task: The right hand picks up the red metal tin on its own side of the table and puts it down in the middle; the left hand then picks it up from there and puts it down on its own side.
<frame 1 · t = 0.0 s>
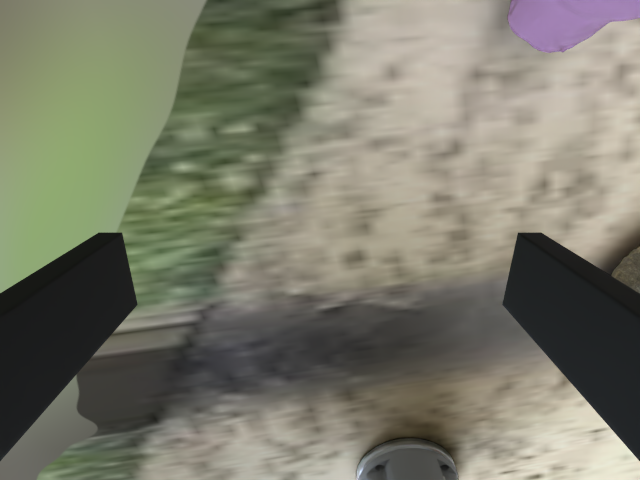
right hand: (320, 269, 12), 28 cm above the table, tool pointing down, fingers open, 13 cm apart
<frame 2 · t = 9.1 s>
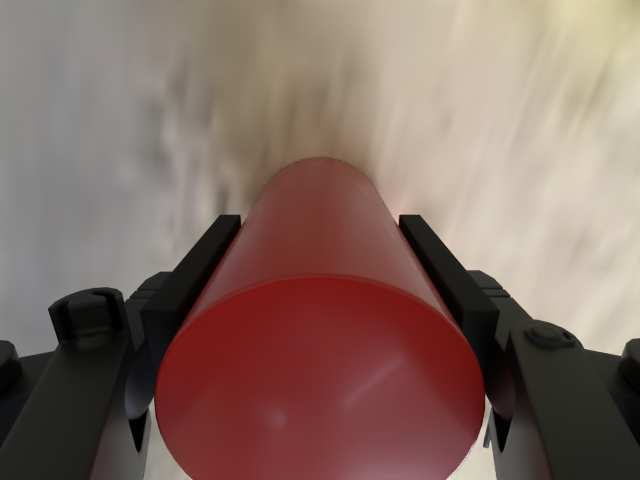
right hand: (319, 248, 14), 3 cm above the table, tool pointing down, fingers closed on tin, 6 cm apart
tin: (319, 221, 17), on the table, touching right hand
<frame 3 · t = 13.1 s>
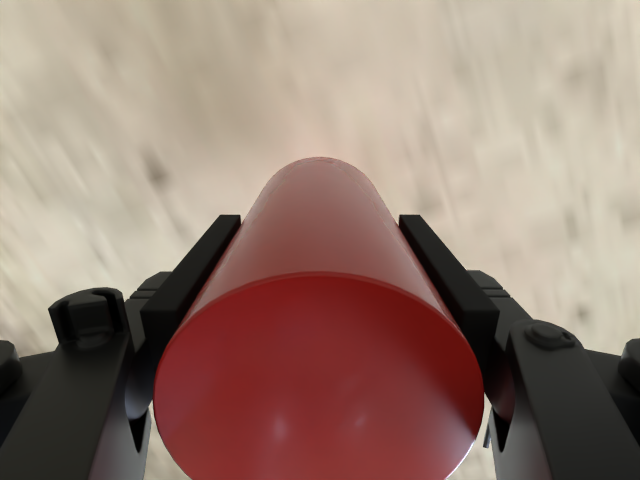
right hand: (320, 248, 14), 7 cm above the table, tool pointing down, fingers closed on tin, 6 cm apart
tin: (319, 221, 17), point 4 cm above the table, touching right hand
when the right hand's fingers open (5 cm above the table, at t = 17.1 s): tin drops 2 cm, on the table.
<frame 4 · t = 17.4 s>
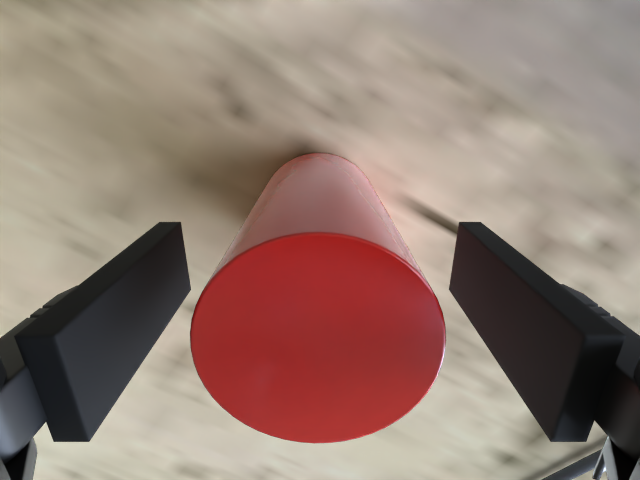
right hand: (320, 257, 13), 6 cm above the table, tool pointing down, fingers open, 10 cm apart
tin: (319, 210, 19), on the table
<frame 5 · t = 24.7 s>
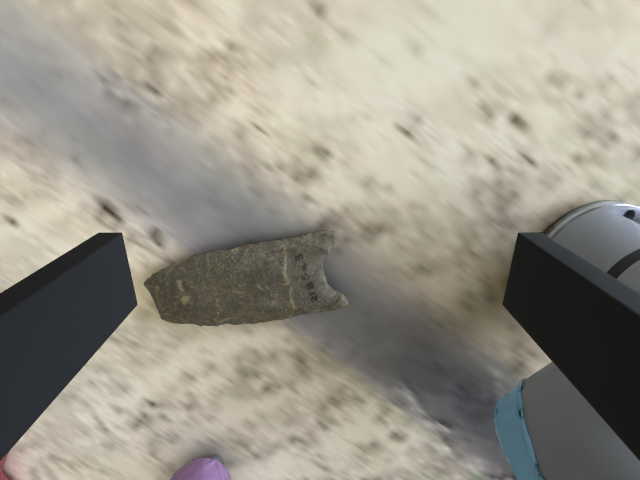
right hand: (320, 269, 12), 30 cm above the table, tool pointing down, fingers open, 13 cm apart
toy character: (207, 464, 59), on the table
stone tool: (247, 280, 47), on the table
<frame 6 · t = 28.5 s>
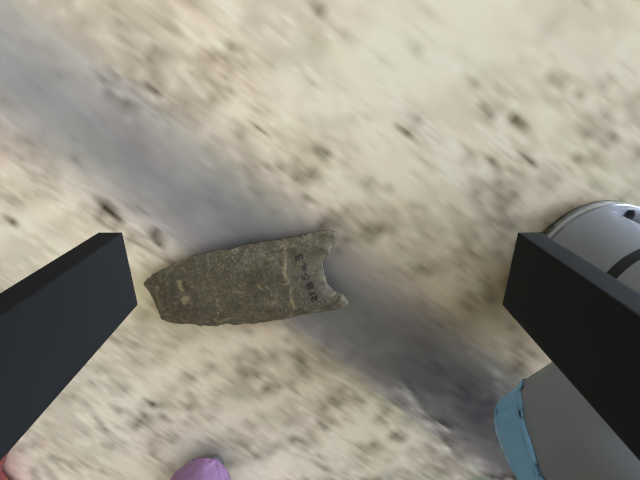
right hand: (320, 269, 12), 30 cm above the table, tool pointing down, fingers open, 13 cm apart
toy character: (207, 464, 59), on the table
stone tool: (247, 280, 47), on the table
when the left hand's fingers open (5 cm above the table, at t = 32.5 s): tin drops 2 cm, on the table.
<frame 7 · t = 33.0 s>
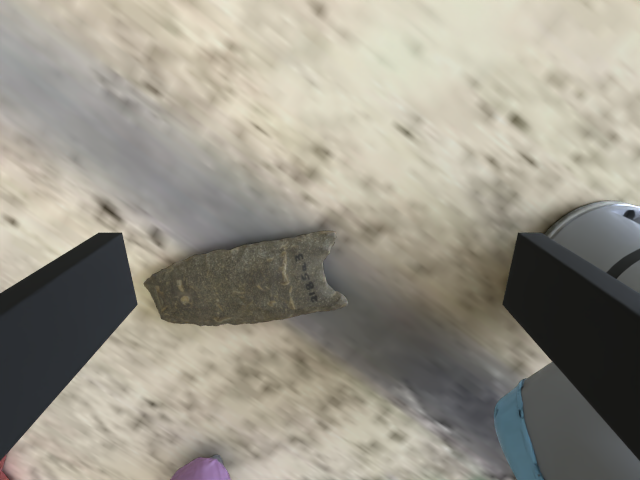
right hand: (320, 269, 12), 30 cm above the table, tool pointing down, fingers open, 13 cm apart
toy character: (207, 464, 59), on the table
stone tool: (247, 280, 47), on the table
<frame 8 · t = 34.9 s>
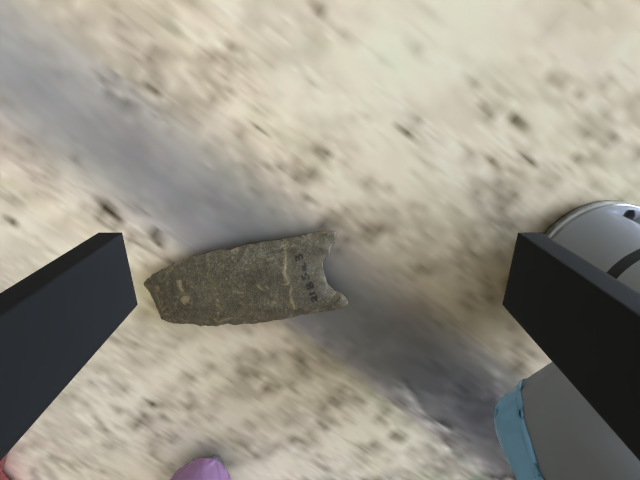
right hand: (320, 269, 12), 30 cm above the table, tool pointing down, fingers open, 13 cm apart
toy character: (207, 464, 59), on the table
stone tool: (247, 280, 47), on the table
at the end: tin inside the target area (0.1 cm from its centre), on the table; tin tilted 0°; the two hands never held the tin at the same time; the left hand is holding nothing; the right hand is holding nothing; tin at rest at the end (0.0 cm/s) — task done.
